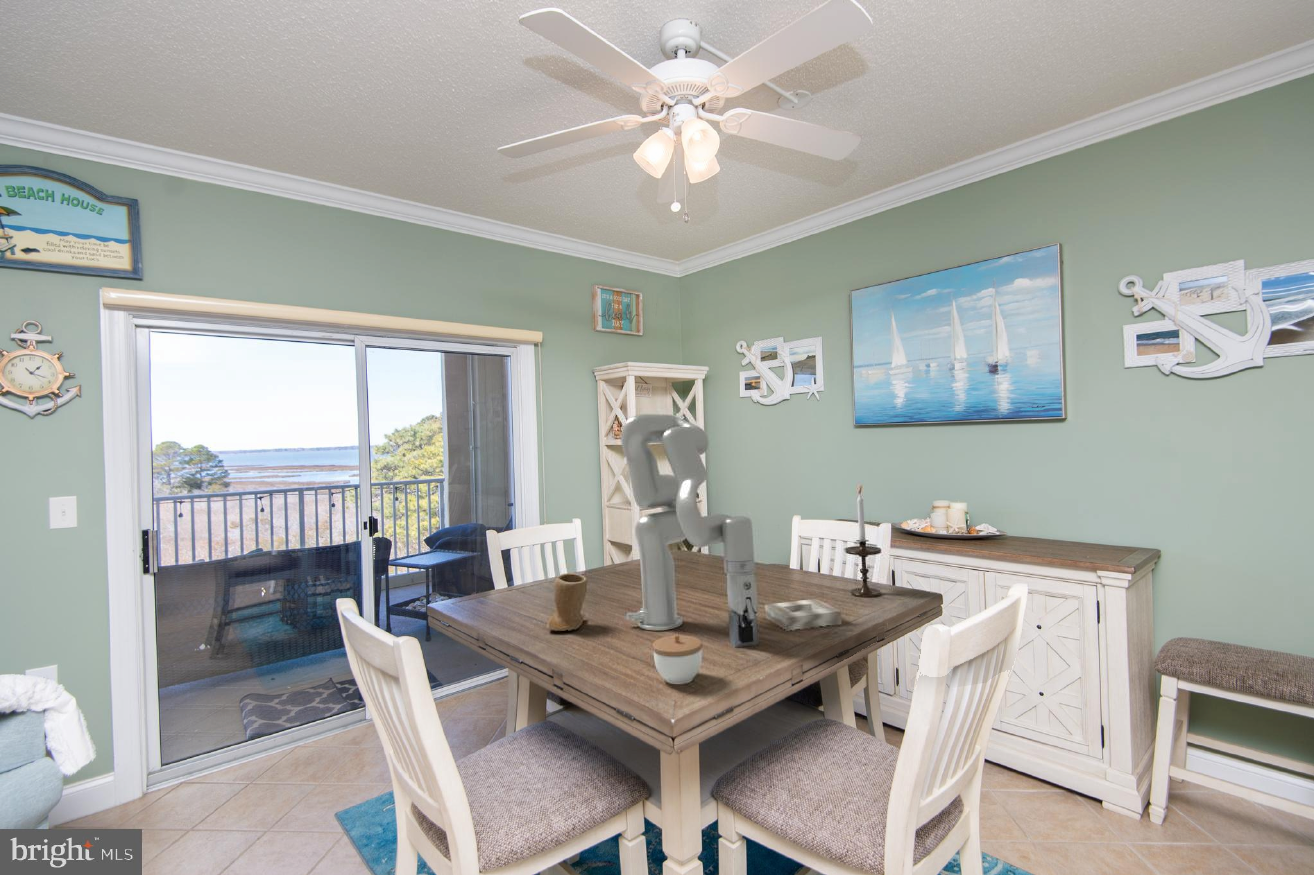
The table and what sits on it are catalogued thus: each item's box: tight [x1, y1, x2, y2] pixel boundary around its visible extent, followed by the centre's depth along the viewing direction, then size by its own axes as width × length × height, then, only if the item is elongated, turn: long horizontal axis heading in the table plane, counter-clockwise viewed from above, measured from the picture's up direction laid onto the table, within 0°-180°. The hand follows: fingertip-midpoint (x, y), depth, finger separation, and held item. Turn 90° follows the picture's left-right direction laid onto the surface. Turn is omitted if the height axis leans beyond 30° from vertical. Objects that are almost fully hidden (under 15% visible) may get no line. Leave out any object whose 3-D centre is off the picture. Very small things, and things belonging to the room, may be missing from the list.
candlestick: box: [844, 484, 882, 599], centre depth 189 cm, size 11×11×35 cm
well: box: [764, 598, 842, 632], centre depth 164 cm, size 16×14×4 cm
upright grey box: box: [727, 610, 758, 648], centre depth 148 cm, size 6×4×8 cm, turn 103°
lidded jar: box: [652, 634, 703, 685], centre depth 128 cm, size 11×11×9 cm
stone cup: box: [546, 572, 588, 632], centre depth 171 cm, size 15×12×15 cm
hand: (743, 638), depth 148 cm, fingers open, 4 cm apart
